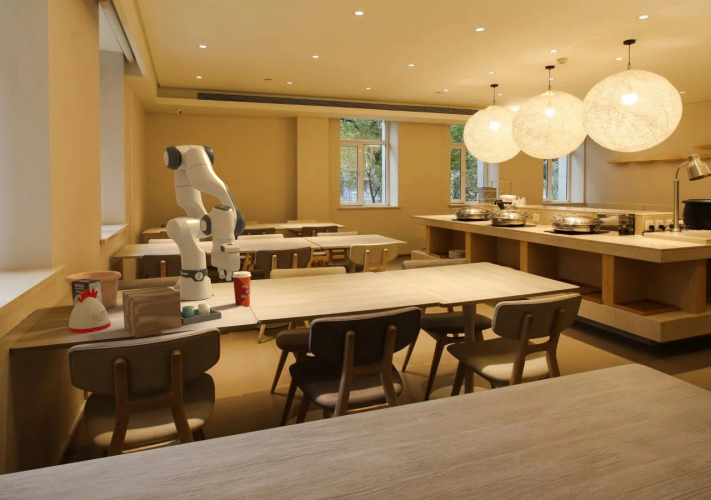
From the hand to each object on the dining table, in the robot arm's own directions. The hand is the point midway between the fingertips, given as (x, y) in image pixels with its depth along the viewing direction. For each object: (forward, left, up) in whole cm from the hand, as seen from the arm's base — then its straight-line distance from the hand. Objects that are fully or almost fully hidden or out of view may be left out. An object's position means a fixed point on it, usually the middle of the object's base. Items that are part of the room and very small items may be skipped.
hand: (225, 279), depth 201 cm
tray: (0, -13, -15) cm, 19 cm away
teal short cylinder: (0, -16, -14) cm, 21 cm away
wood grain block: (0, -29, -15) cm, 33 cm away
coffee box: (-30, -45, -15) cm, 57 cm away
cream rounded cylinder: (0, -9, -14) cm, 17 cm away
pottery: (-52, -38, -15) cm, 66 cm away
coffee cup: (-11, +13, -15) cm, 23 cm away
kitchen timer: (-17, -47, -15) cm, 53 cm away
